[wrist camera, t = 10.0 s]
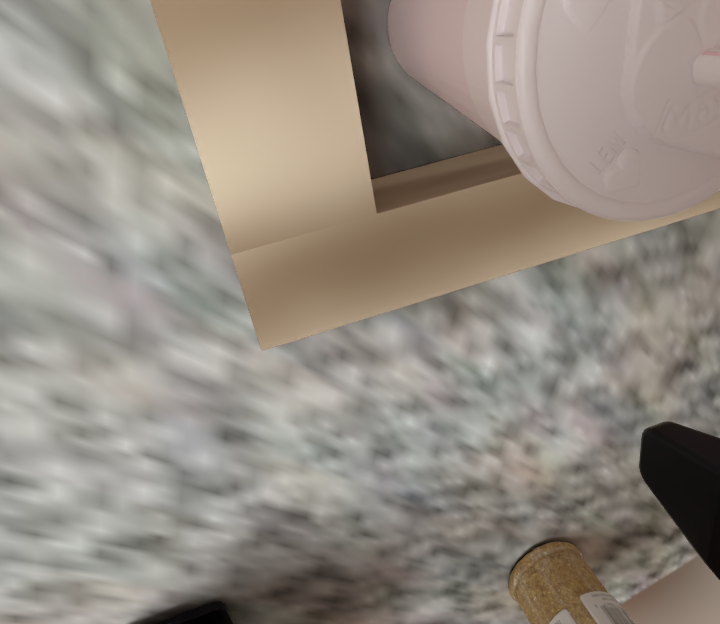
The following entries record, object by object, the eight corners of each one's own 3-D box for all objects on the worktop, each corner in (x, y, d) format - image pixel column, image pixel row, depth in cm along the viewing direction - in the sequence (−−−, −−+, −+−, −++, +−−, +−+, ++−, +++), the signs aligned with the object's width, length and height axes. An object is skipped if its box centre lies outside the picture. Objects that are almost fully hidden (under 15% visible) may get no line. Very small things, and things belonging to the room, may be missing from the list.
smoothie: (408, 170, 19) (798, 431, 8) (299, -19, 16) (693, -86, 4) (567, 53, 19) (1227, 133, 7) (489, -162, 16) (1490, -672, 4)
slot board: (669, 181, 23) (733, 204, 20) (249, 306, 20) (261, 350, 17) (721, -340, 15) (831, -408, 13) (70, -258, 13) (47, -324, 10)
